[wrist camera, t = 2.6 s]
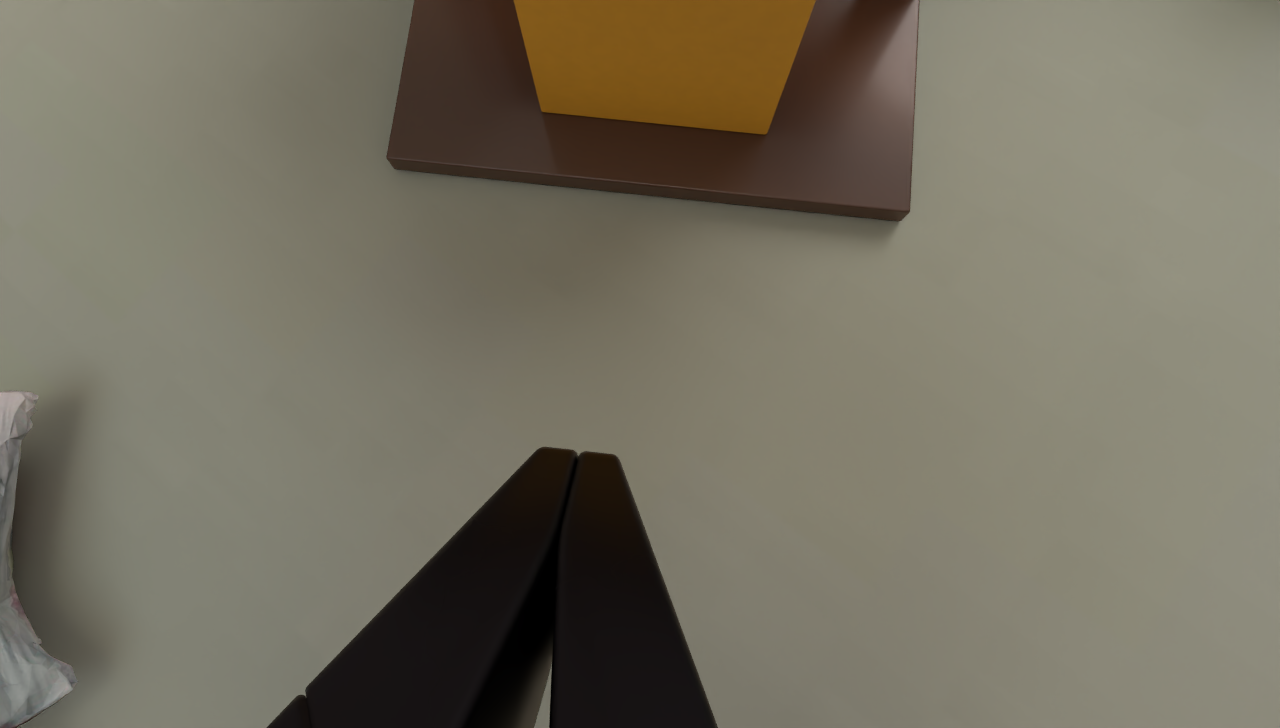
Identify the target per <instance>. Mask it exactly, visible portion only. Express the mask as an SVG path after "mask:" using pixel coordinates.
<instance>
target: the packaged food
mask: <svg viewBox="0 0 1280 728" xmlns="http://www.w3.org/2000/svg"><path fill="white" fill-rule="evenodd" d="M37 400H38V395H36V394H34V393H32V392H23V391H4V392H0V728H16V727H18V726H19V725H21V724H24V723H26V722H28V721H29V720H31V719H32V718H34V717H35V716H37V715H38V714H40V713H41V712H42V711H44V710H45V709H46V708H48V707H50V706H52V705H54V704H55V703H56V702H58V701H59V700H60V699H62V698H63V697H64V696H66V695H67V694H68V693H70V692H71V691H72V690H73V687H74V686H75V685H76V684H77V683H78V681H77V679H76V677H75V674H74V671H73V668H72V666H71V665H69V664H67V663H64V662H62V661H60V660H58V659H56V658H54V657H52V656H50V655H49V654H48V653H47V652H46V651H45V650H44V649H43V648H42V647H41V646H40V645H39V644H41V643H42V641H41V639H40V638H38V637H37V636H36V634H35V632H34V630H33V628H32V626H31V624H30V622H29V620H28V619H27V617H26V615H25V613H24V610H23V608H22V606H21V603H20V601H19V598H18V596H17V594H16V591H15V585H14V581H13V578H12V572H13V554H12V549H11V542H12V521H13V514H14V507H15V491H16V483H17V475H18V467H19V461H20V458H21V443H22V439H23V438H24V437H25V435H26V434H27V432H28V431H29V430H30V429H31V428H32V427H33V424H32V421H31V419H30V417H31V416H32V415H33V414H34V413H35V412H36V411H37V409H36V406H35V403H36V402H37Z"/></svg>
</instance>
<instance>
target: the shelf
mask: <svg viewBox="0 0 1280 728" xmlns="http://www.w3.org/2000/svg"><path fill="white" fill-rule="evenodd" d="M918 21H919V0H816V2H815V4H814V7H813V10H812V12H811V15H810V18H809V21H808V23H807V26H806V29H805V32H804V34H803V37H802V40H801V43H800V45H799V48H798V51H797V53H796V56H795V59H794V62H793V64H792V67H791V70H790V73H789V75H788V78H787V81H786V83H785V86H784V89H783V92H782V94H781V97H780V100H779V103H778V105H777V108H776V111H775V114H774V116H773V119H772V122H771V124H770V127H769V130H768V133H767V134H765V135H763V134H753V133H743V132H734V131H724V130H714V129H704V128H694V127H685V126H675V125H665V124H655V123H645V122H636V121H626V120H616V119H606V118H596V117H587V116H577V115H567V114H557V113H547V112H542V111H541V108H540V104H539V100H538V96H537V92H536V88H535V84H534V80H533V76H532V72H531V68H530V64H529V60H528V56H527V52H526V48H525V44H524V40H523V36H522V32H521V28H520V24H519V20H518V16H517V12H516V8H515V4H514V0H415V1H414V7H413V12H412V18H411V24H410V29H409V35H408V40H407V46H406V52H405V57H404V63H403V68H402V74H401V79H400V85H399V91H398V96H397V102H396V107H395V113H394V119H393V124H392V130H391V135H390V141H389V146H388V152H387V159H388V161H389V162H390V163H391V165H392V166H393V167H394V168H395V169H400V170H410V171H420V172H429V173H439V174H449V175H458V176H468V177H478V178H487V179H497V180H507V181H516V182H526V183H536V184H545V185H555V186H565V187H574V188H584V189H594V190H604V191H613V192H623V193H633V194H642V195H652V196H662V197H671V198H681V199H691V200H700V201H710V202H720V203H729V204H739V205H749V206H758V207H768V208H778V209H787V210H797V211H807V212H816V213H826V214H836V215H845V216H855V217H865V218H874V219H884V220H894V221H901V220H902V219H903V218H904V217H905V216H906V215H907V214H908V213H909V212H910V198H911V176H912V154H913V132H914V109H915V87H916V65H917V43H918Z"/></svg>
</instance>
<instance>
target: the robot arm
mask: <svg viewBox="0 0 1280 728" xmlns="http://www.w3.org/2000/svg"><path fill="white" fill-rule="evenodd" d="M551 664H552V677H551V701H550V725H549V728H718V727H717V724H716V721H715V718H714V716H713V713H712V710H711V708H710V705H709V702H708V699H707V697H706V694H705V691H704V688H703V686H702V683H701V680H700V678H699V675H698V672H697V669H696V667H695V664H694V661H693V659H692V656H691V653H690V650H689V648H688V645H687V642H686V639H685V637H684V634H683V631H682V629H681V626H680V623H679V620H678V618H677V615H676V612H675V609H674V607H673V604H672V601H671V599H670V596H669V593H668V590H667V588H666V585H665V582H664V579H663V577H662V574H661V571H660V569H659V566H658V563H657V560H656V558H655V555H654V552H653V550H652V547H651V544H650V541H649V539H648V536H647V533H646V530H645V528H644V525H643V522H642V520H641V517H640V514H639V511H638V509H637V506H636V503H635V500H634V498H633V495H632V492H631V490H630V487H629V484H628V481H627V479H626V476H625V473H624V470H623V468H622V465H621V462H620V460H619V459H618V457H617V456H616V455H613V454H606V453H597V452H588V451H584V452H582V453H581V454H580V455H579V456H578V455H577V453H576V452H575V451H574V450H570V449H561V448H552V447H541V448H539V449H538V450H536V451H535V452H534V453H533V454H532V455H531V457H530V458H529V459H528V460H527V461H526V462H525V463H524V464H523V465H522V466H521V467H520V468H519V469H518V470H517V471H516V472H515V473H514V474H513V475H512V476H511V477H510V478H509V479H508V480H507V481H506V482H505V483H504V484H503V485H502V486H501V487H500V488H499V489H498V490H497V492H496V493H495V494H494V495H493V496H492V497H491V498H490V499H489V500H488V501H487V502H486V503H485V504H484V505H483V506H482V507H481V508H480V509H479V510H478V511H477V512H476V513H475V514H474V515H473V516H472V517H471V518H470V519H469V520H468V521H467V522H466V523H465V524H464V525H463V526H462V528H461V529H460V530H459V531H458V532H457V533H456V534H455V535H454V536H453V537H452V538H451V539H450V540H449V541H448V542H447V543H446V544H445V545H444V546H443V547H442V548H441V549H440V550H439V551H438V552H437V553H436V554H435V555H434V556H433V557H432V558H431V559H430V560H429V561H428V562H427V564H426V565H425V566H424V567H423V568H422V569H421V570H420V571H419V572H418V573H417V574H416V575H415V576H414V577H413V578H412V579H411V580H410V581H409V582H408V583H407V584H406V585H405V586H404V587H403V588H402V589H401V590H400V591H399V592H398V593H397V594H396V595H395V596H394V597H393V599H392V600H391V601H390V602H389V603H388V604H387V605H386V606H385V607H384V608H383V609H382V610H381V611H380V612H379V613H378V614H377V615H376V616H375V617H374V618H373V619H372V620H371V621H370V622H369V623H368V624H367V625H366V626H365V627H364V628H363V629H362V630H361V631H360V632H359V633H358V635H357V636H356V637H355V638H354V639H353V640H352V641H351V642H350V643H349V644H348V645H347V646H346V647H345V648H344V649H343V650H342V651H341V652H340V653H339V654H338V655H337V656H336V657H335V658H334V659H333V660H332V661H331V662H330V663H329V664H328V665H327V666H326V667H325V668H324V669H323V671H322V672H321V673H320V674H319V675H318V676H317V677H316V678H315V679H314V680H313V681H312V682H311V683H310V684H309V685H308V686H307V687H306V690H305V691H306V696H304V695H298V696H297V697H296V698H295V699H294V700H293V701H292V702H291V703H290V704H289V705H288V706H287V707H286V708H285V709H284V710H283V711H282V712H281V713H280V714H279V715H278V716H277V717H276V718H275V719H274V720H273V722H272V723H271V724H270V725H269V726H268V727H267V728H534V726H535V722H536V719H537V715H538V712H539V708H540V704H541V701H542V697H543V694H544V690H545V687H546V683H547V680H548V676H549V672H550V668H551Z"/></svg>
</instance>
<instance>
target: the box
mask: <svg viewBox="0 0 1280 728" xmlns="http://www.w3.org/2000/svg"><path fill="white" fill-rule="evenodd" d="M815 2H816V0H514V4H515V8H516V12H517V16H518V20H519V24H520V28H521V32H522V36H523V40H524V44H525V48H526V52H527V56H528V60H529V64H530V68H531V72H532V76H533V80H534V84H535V88H536V92H537V96H538V100H539V104H540V108H541V111H542V112H547V113H557V114H567V115H577V116H587V117H596V118H606V119H616V120H626V121H636V122H645V123H655V124H665V125H675V126H685V127H694V128H704V129H714V130H724V131H734V132H743V133H753V134H763V135H765V134H767V133H768V130H769V127H770V124H771V122H772V119H773V116H774V114H775V111H776V108H777V105H778V103H779V100H780V97H781V94H782V92H783V89H784V86H785V83H786V81H787V78H788V75H789V73H790V70H791V67H792V64H793V62H794V59H795V56H796V53H797V51H798V48H799V45H800V43H801V40H802V37H803V34H804V32H805V29H806V26H807V23H808V21H809V18H810V15H811V12H812V10H813V7H814V4H815Z"/></svg>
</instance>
